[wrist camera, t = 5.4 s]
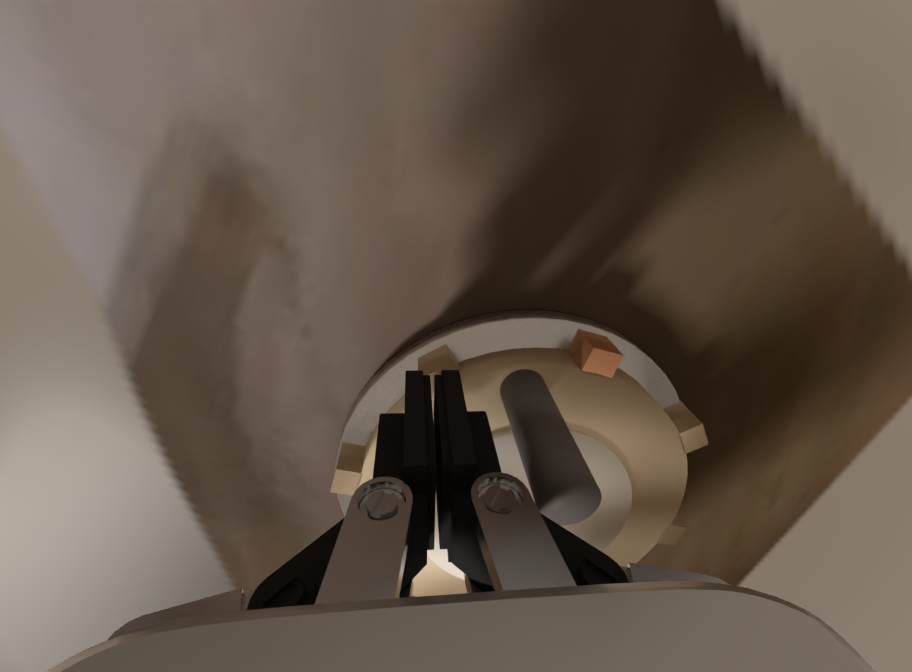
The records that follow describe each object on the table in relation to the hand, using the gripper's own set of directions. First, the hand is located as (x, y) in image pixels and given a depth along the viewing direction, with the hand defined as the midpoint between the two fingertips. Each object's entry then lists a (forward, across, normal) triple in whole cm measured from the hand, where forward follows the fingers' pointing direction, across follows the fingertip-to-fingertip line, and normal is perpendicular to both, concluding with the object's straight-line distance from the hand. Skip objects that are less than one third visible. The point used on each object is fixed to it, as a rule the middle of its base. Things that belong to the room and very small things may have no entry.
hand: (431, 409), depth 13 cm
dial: (+3, -4, +6) cm, 8 cm away
